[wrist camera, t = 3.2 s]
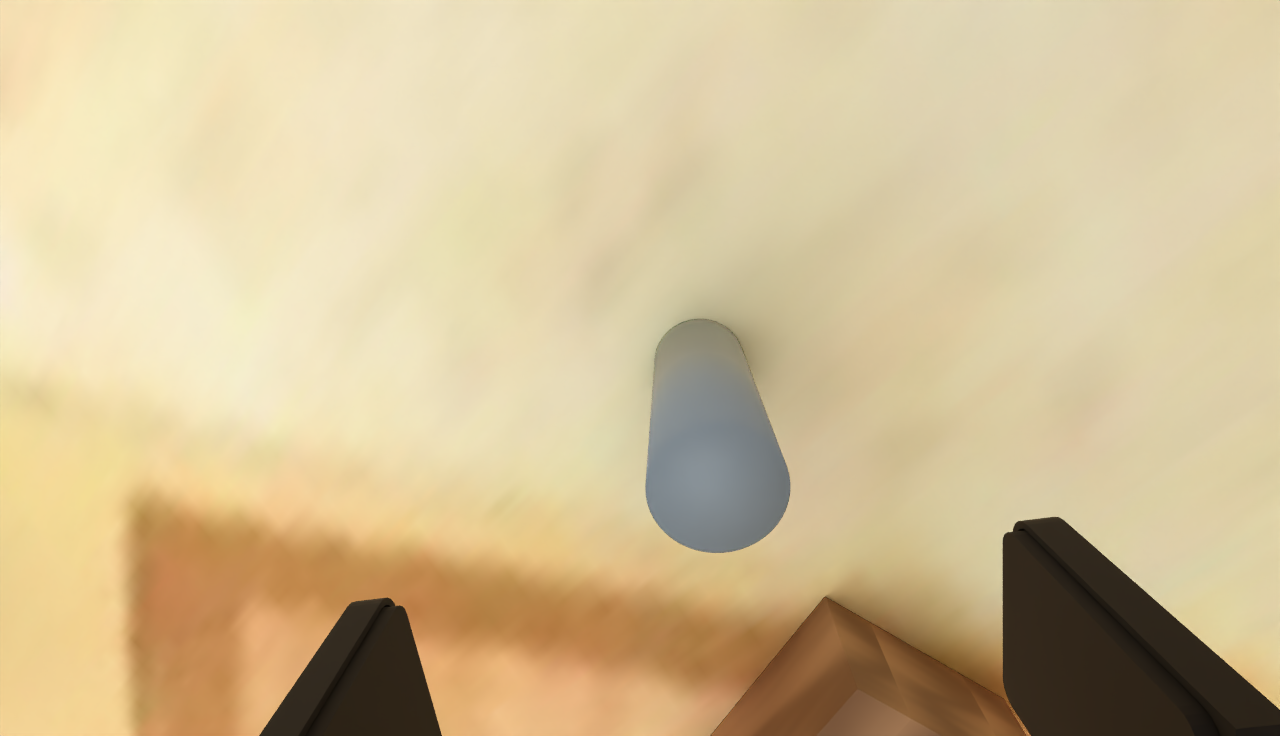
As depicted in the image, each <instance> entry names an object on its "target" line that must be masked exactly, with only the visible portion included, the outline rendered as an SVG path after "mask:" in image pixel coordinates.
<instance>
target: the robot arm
mask: <svg viewBox="0 0 1280 736" xmlns="http://www.w3.org/2000/svg"><path fill="white" fill-rule="evenodd" d="M1003 683H1004V688H1005V691H1006V694H1007V697H1008V699H1009V702H1010V704H1011V705H1012V707H1013V709H1014V710H1015V712H1016V713H1017V715H1018V716H1019V718H1020V719H1021V721H1022V722H1023V724H1024V725H1025V727H1026V728H1027V730H1028V732H1029V733H1030V735H1031V736H1280V710H1279V709H1278V708H1277V707H1276V706H1275V705H1274V704H1273V703H1272V702H1270V701H1269V700H1268V699H1267V698H1266V697H1265V696H1264V695H1262V694H1261V693H1260V692H1259V691H1258V690H1257V689H1256V688H1254V687H1253V686H1252V685H1251V684H1250V683H1249V682H1248V681H1246V680H1245V679H1244V678H1243V677H1242V676H1241V675H1240V674H1238V673H1237V672H1236V671H1235V670H1234V669H1233V668H1232V667H1230V666H1229V665H1228V664H1227V663H1226V662H1225V661H1224V660H1223V659H1221V658H1220V657H1219V656H1218V655H1217V654H1216V653H1215V652H1213V651H1212V650H1211V649H1210V648H1209V647H1208V646H1207V645H1205V644H1204V643H1203V642H1202V641H1201V640H1200V639H1199V638H1197V637H1196V636H1195V635H1194V634H1193V633H1192V632H1191V631H1189V630H1188V629H1187V628H1186V627H1185V626H1184V625H1183V624H1181V623H1180V622H1179V621H1178V620H1177V619H1176V618H1175V617H1173V616H1172V615H1171V614H1170V613H1169V612H1168V611H1167V610H1166V609H1164V608H1163V607H1162V606H1161V605H1160V604H1159V603H1158V602H1156V601H1155V600H1154V599H1153V598H1152V597H1151V596H1150V595H1148V594H1147V593H1146V592H1145V591H1144V590H1143V589H1142V588H1140V587H1139V586H1138V585H1137V584H1136V583H1135V582H1134V581H1132V580H1131V579H1130V578H1129V577H1128V576H1127V575H1126V574H1124V573H1123V572H1122V571H1121V570H1120V569H1119V568H1118V567H1117V566H1115V565H1114V564H1113V563H1112V562H1111V561H1110V560H1109V559H1107V558H1106V557H1105V556H1104V555H1103V554H1102V553H1101V552H1099V551H1098V550H1097V549H1096V548H1095V547H1094V546H1093V545H1091V544H1090V543H1089V542H1088V541H1087V540H1086V539H1085V538H1083V537H1082V536H1081V535H1080V534H1079V533H1078V532H1077V531H1075V530H1074V529H1073V528H1072V527H1071V526H1070V525H1069V524H1068V523H1066V522H1065V521H1064V520H1063V519H1061V518H1059V517H1050V518H1041V519H1033V520H1025V521H1018V522H1017V523H1016V524H1015V526H1014V528H1013V532H1008V533H1006V534H1005V535H1004V537H1003ZM259 736H442V735H441V731H440V728H439V724H438V721H437V717H436V714H435V710H434V707H433V703H432V700H431V696H430V693H429V689H428V686H427V682H426V679H425V675H424V672H423V668H422V665H421V662H420V658H419V655H418V651H417V648H416V644H415V641H414V637H413V634H412V630H411V627H410V623H409V620H408V616H407V613H406V611H405V609H404V608H403V606H395V604H394V602H393V601H392V600H391V599H390V598H380V599H372V600H364V601H356V602H352V603H351V604H350V605H349V606H348V607H347V608H346V610H345V611H344V613H343V614H342V616H341V617H340V619H339V620H338V621H337V623H336V624H335V626H334V627H333V629H332V630H331V632H330V633H329V635H328V636H327V637H326V639H325V640H324V642H323V643H322V645H321V646H320V648H319V649H318V651H317V652H316V654H315V655H314V656H313V658H312V659H311V661H310V662H309V664H308V665H307V667H306V668H305V670H304V671H303V673H302V674H301V675H300V677H299V678H298V680H297V681H296V683H295V684H294V686H293V687H292V689H291V690H290V692H289V693H288V694H287V696H286V697H285V699H284V700H283V702H282V703H281V705H280V706H279V708H278V709H277V711H276V712H275V713H274V715H273V716H272V718H271V719H270V721H269V722H268V724H267V725H266V727H265V728H264V730H263V731H262V732H261V734H260V735H259Z"/></svg>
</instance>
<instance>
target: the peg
mask: <svg viewBox="0 0 1280 736" xmlns="http://www.w3.org/2000/svg"><path fill="white" fill-rule="evenodd" d="M789 496H790V477H789V473H788V469H787V466H786V463H785V460H784V458H783V455H782V453H781V450H780V447H779V445H778V442H777V439H776V437H775V434H774V432H773V429H772V426H771V424H770V421H769V419H768V416H767V413H766V411H765V408H764V405H763V403H762V400H761V398H760V395H759V392H758V390H757V387H756V384H755V382H754V379H753V377H752V374H751V371H750V369H749V366H748V363H747V361H746V358H745V356H744V353H743V350H742V348H741V345H740V343H739V341H738V340H737V338H736V337H735V335H734V334H733V333H732V332H731V331H730V330H729V329H728V328H726V327H725V326H723V325H721V324H719V323H717V322H714V321H711V320H706V319H694V320H688V321H685V322H682V323H680V324H678V325H676V326H675V327H673V328H672V329H670V330H669V331H668V332H667V333H666V334H665V335H664V337H663V338H662V339H661V341H660V343H659V345H658V347H657V350H656V354H655V363H654V377H653V390H652V404H651V418H650V432H649V446H648V460H647V474H646V498H647V503H648V506H649V509H650V512H651V514H652V516H653V518H654V520H655V521H656V522H657V524H658V525H659V527H660V528H661V529H662V530H663V531H664V532H665V533H666V534H667V535H668V536H670V537H671V538H672V539H674V540H675V541H677V542H678V543H680V544H682V545H684V546H686V547H689V548H692V549H694V550H698V551H703V552H711V553H724V552H732V551H736V550H740V549H743V548H746V547H748V546H750V545H752V544H754V543H756V542H758V541H759V540H761V539H762V538H764V537H765V536H766V535H767V534H769V533H770V532H771V531H772V530H773V529H774V527H775V526H776V525H777V524H778V522H779V521H780V519H781V518H782V516H783V514H784V512H785V510H786V508H787V504H788V501H789Z"/></svg>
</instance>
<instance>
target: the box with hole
mask: <svg viewBox="0 0 1280 736" xmlns="http://www.w3.org/2000/svg"><path fill="white" fill-rule="evenodd" d="M711 736H1026V734H1025V733H1024V731H1023V730H1022V728H1021V726H1020V725H1019V723H1018V721H1017V720H1016V718H1015V717H1014V715H1013V713H1012V712H1011V710H1010V708H1009V707H1008V705H1007V704H1006V702H1005V700H1004V699H1003V698H1001V697H999V696H998V695H996V694H994V693H992V692H991V691H989V690H987V689H985V688H984V687H982V686H980V685H978V684H977V683H975V682H973V681H971V680H970V679H968V678H966V677H964V676H963V675H961V674H959V673H957V672H956V671H954V670H952V669H950V668H949V667H947V666H945V665H943V664H942V663H940V662H938V661H936V660H935V659H933V658H931V657H929V656H928V655H926V654H924V653H922V652H921V651H919V650H917V649H915V648H914V647H912V646H910V645H908V644H907V643H905V642H903V641H901V640H900V639H898V638H896V637H895V636H893V635H891V634H889V633H888V632H886V631H884V630H882V629H881V628H879V627H877V626H875V625H874V624H872V623H870V622H868V621H867V620H865V619H863V618H861V617H860V616H858V615H856V614H854V613H853V612H851V611H849V610H847V609H846V608H844V607H842V606H840V605H839V604H837V603H835V602H833V601H832V600H830V599H828V598H826V597H824V598H823V600H822V601H821V602H820V603H819V605H818V606H817V607H816V608H815V609H814V611H813V612H812V613H811V614H810V615H809V617H808V618H807V619H806V620H805V622H804V623H803V624H802V625H801V626H800V628H799V629H798V630H797V631H796V632H795V634H794V635H793V636H792V637H791V639H790V640H789V641H788V642H787V643H786V645H785V646H784V647H783V648H782V650H781V651H780V652H779V653H778V654H777V656H776V657H775V658H774V659H773V660H772V662H771V663H770V664H769V665H768V667H767V668H766V669H765V670H764V671H763V673H762V674H761V675H760V676H759V677H758V679H757V680H756V681H755V682H754V684H753V685H752V686H751V687H750V688H749V690H748V691H747V692H746V693H745V694H744V696H743V697H742V698H741V699H740V701H739V702H738V703H737V704H736V705H735V707H734V708H733V709H732V710H731V712H730V713H729V714H728V715H727V716H726V718H725V719H724V720H723V721H722V722H721V724H720V725H719V726H718V727H717V729H716V730H715V731H714V732H713V733H712V735H711Z"/></svg>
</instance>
